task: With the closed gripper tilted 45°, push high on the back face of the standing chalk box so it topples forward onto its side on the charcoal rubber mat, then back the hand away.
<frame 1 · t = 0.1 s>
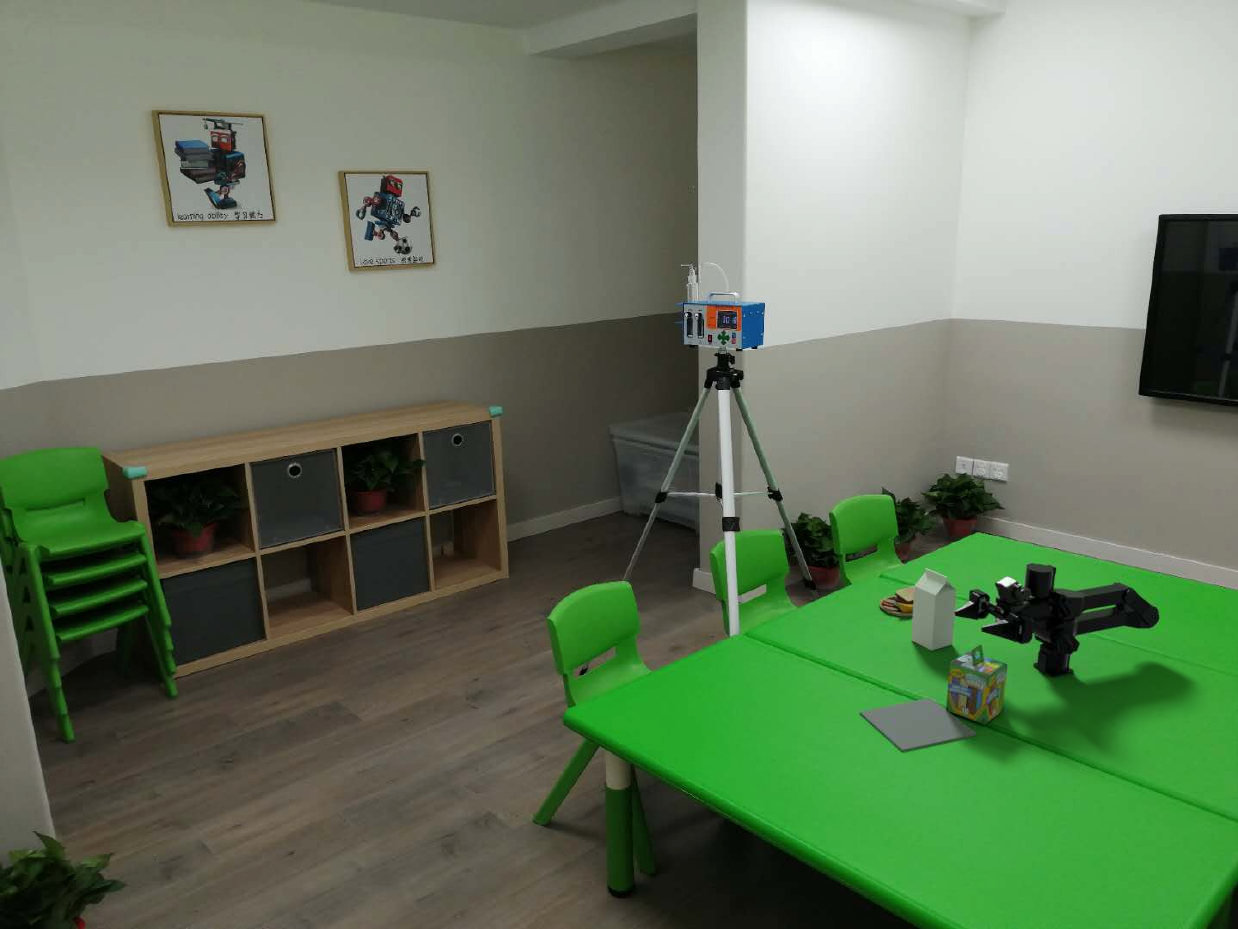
hand: (968, 621, 211), 17 cm above the table, tool horizontal, fingers open, 9 cm apart
chalk box: (974, 712, 205), on the table, touching topple mat
milk carton: (931, 643, 238), on the table
topple mat: (916, 724, 201), on the table
toy sandwich meal: (903, 609, 259), on the table
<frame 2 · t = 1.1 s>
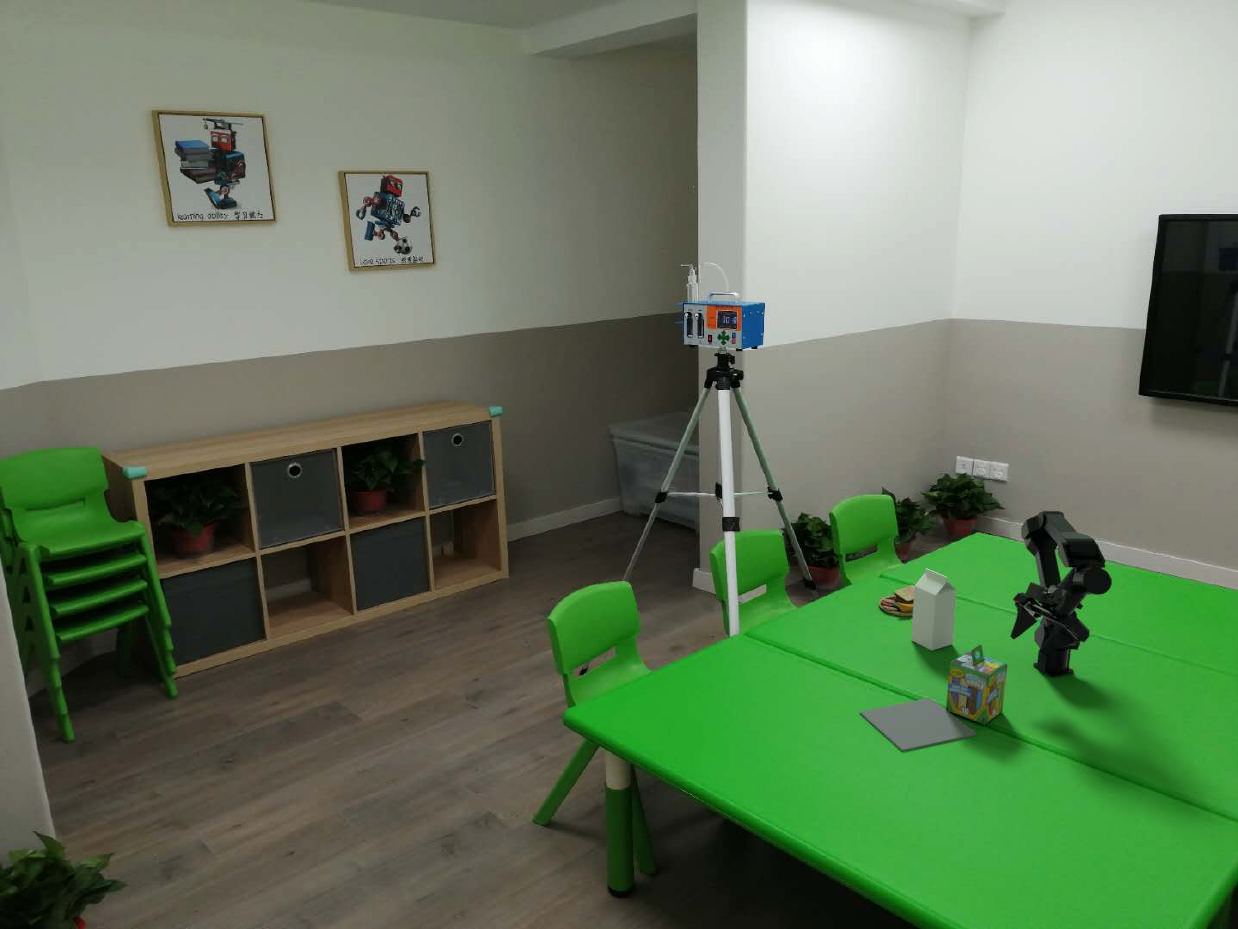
hand: (1025, 645, 206), 13 cm above the table, tool tilted 45°, fingers open, 9 cm apart
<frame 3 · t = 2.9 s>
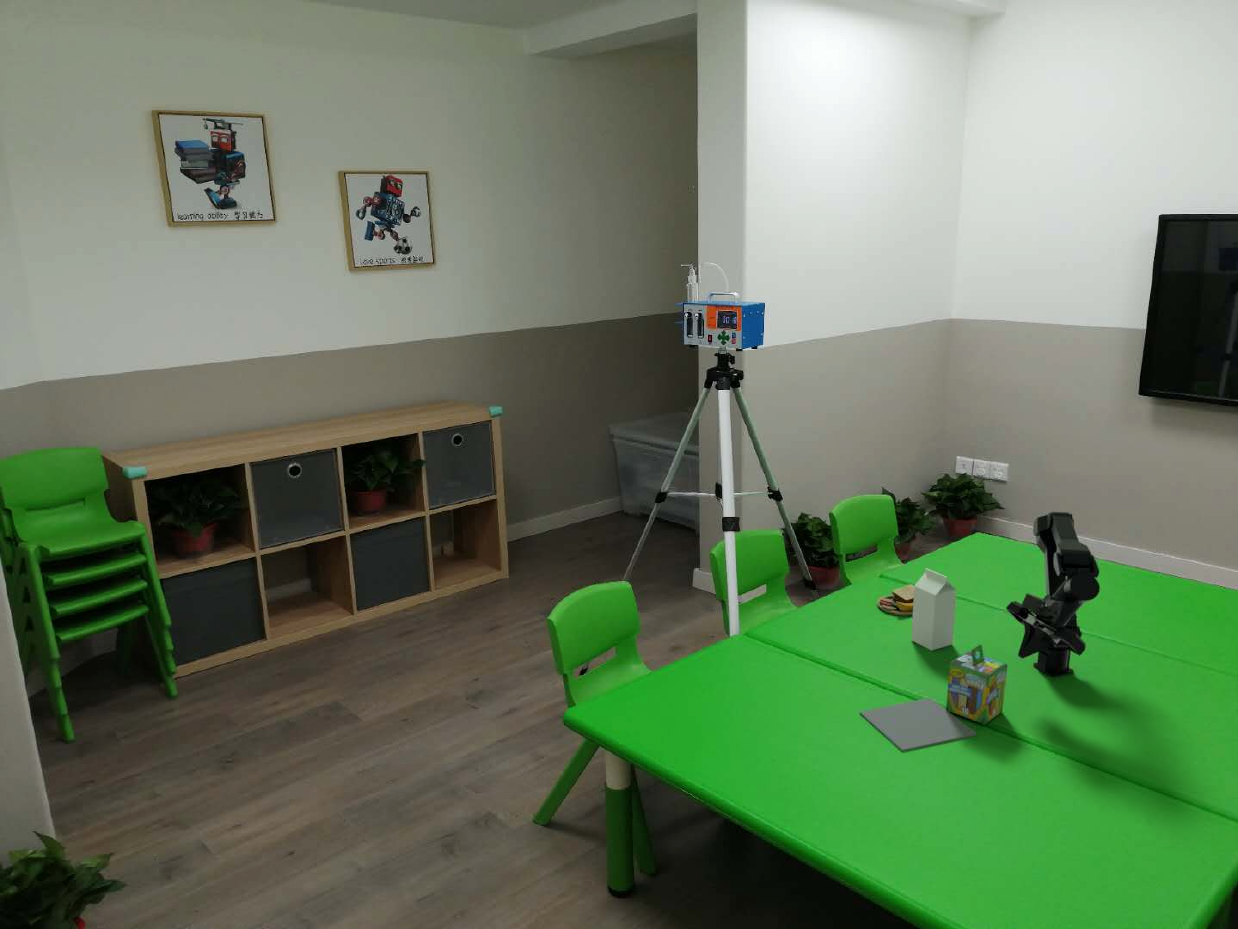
hand: (1020, 657, 205), 12 cm above the table, tool tilted 45°, fingers closed
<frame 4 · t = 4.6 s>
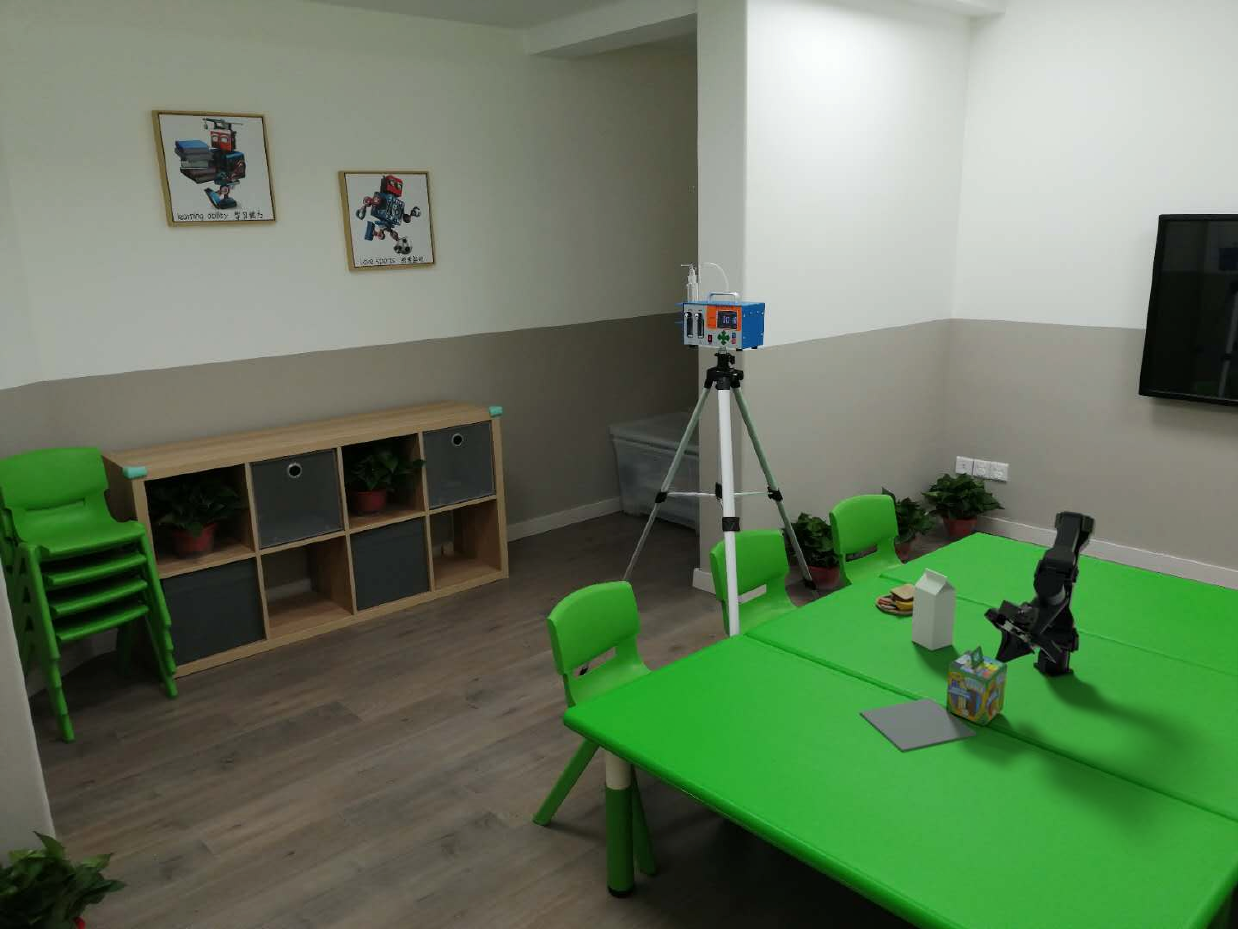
hand: (996, 663, 203), 11 cm above the table, tool tilted 45°, fingers closed
chalk box: (974, 710, 205), on the table, touching gripper, topple mat
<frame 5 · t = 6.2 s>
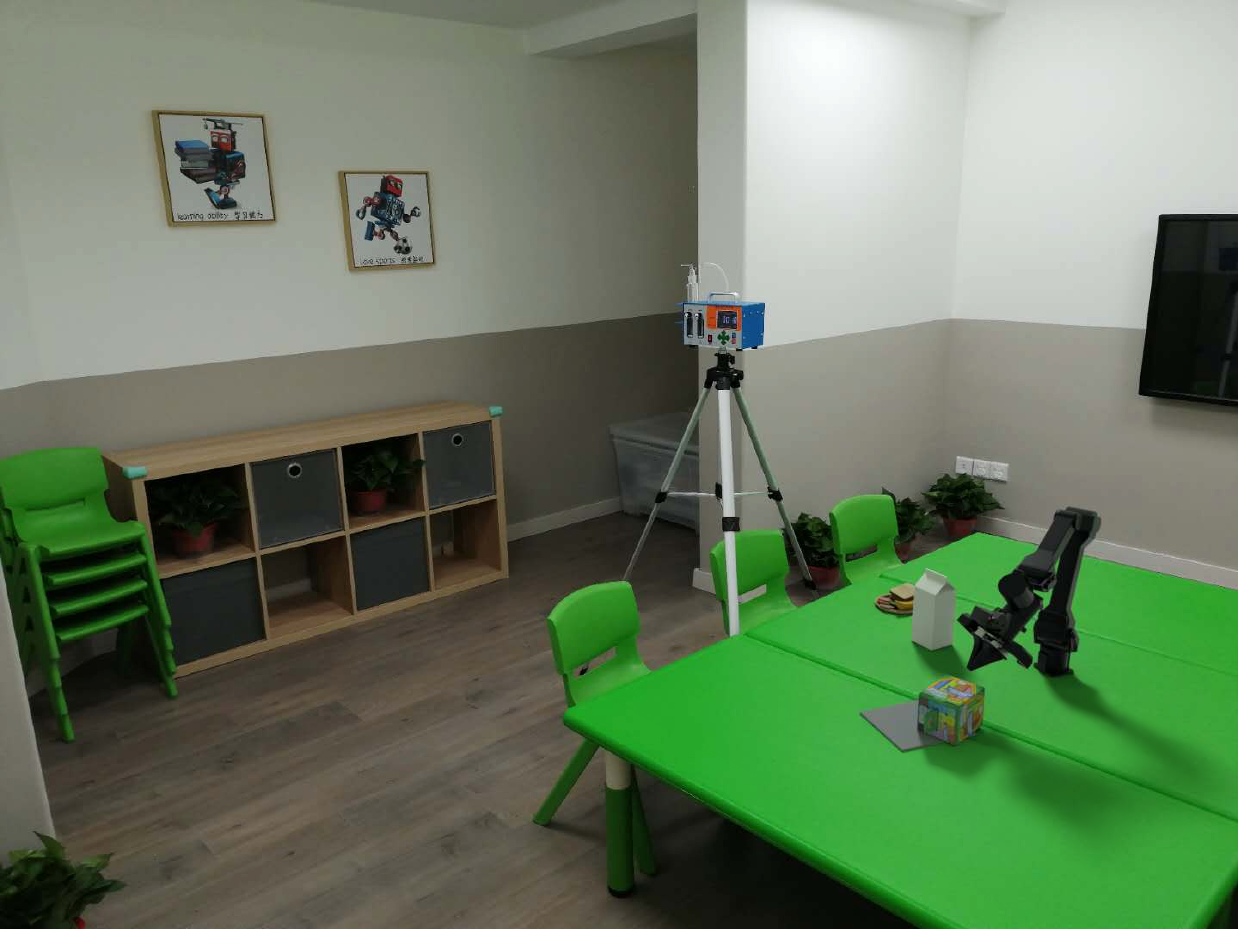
hand: (968, 669, 201), 11 cm above the table, tool tilted 45°, fingers closed
chalk box: (964, 698, 201), point 5 cm above the table, touching topple mat
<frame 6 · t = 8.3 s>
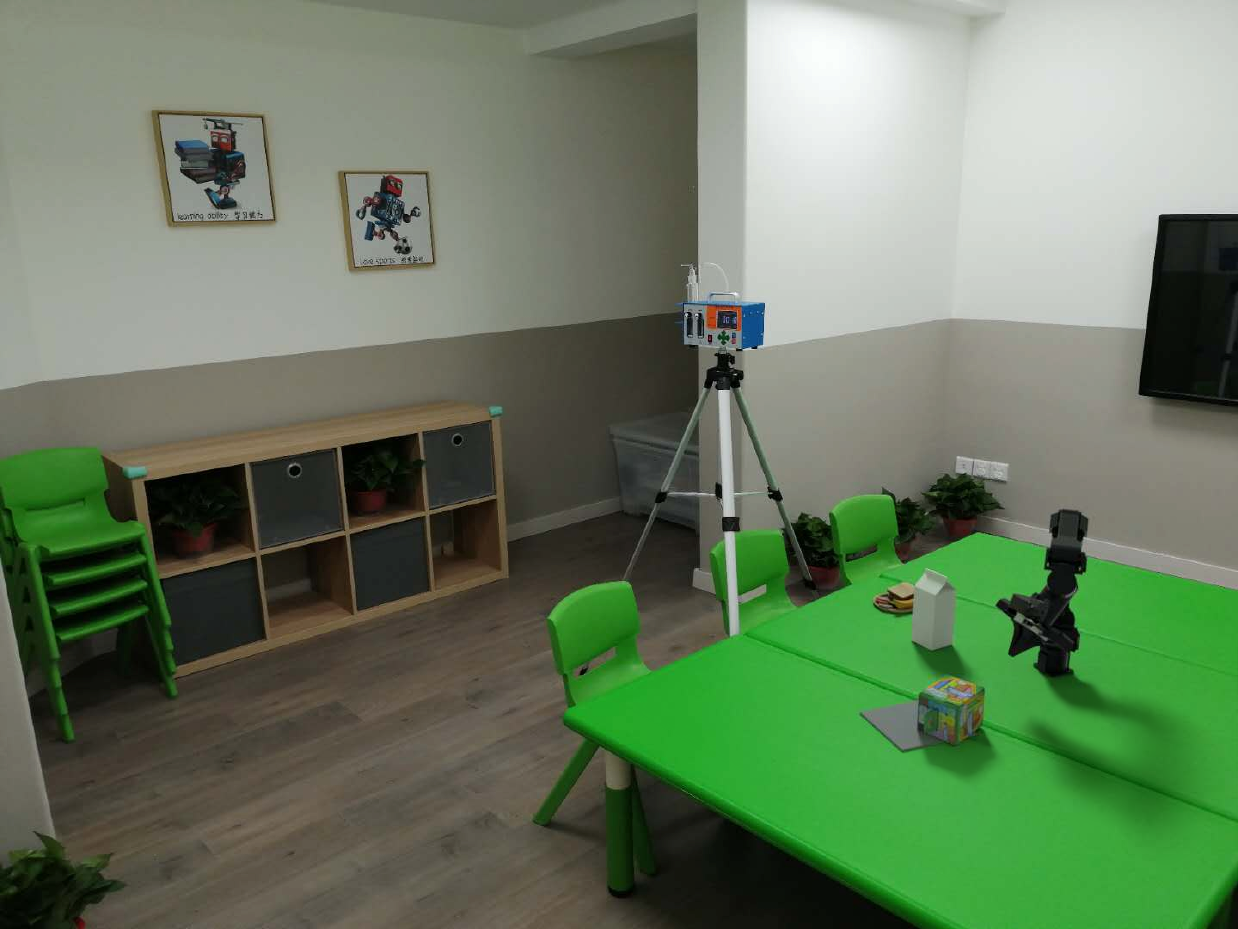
hand: (1010, 655, 205), 11 cm above the table, tool tilted 40°, fingers closed
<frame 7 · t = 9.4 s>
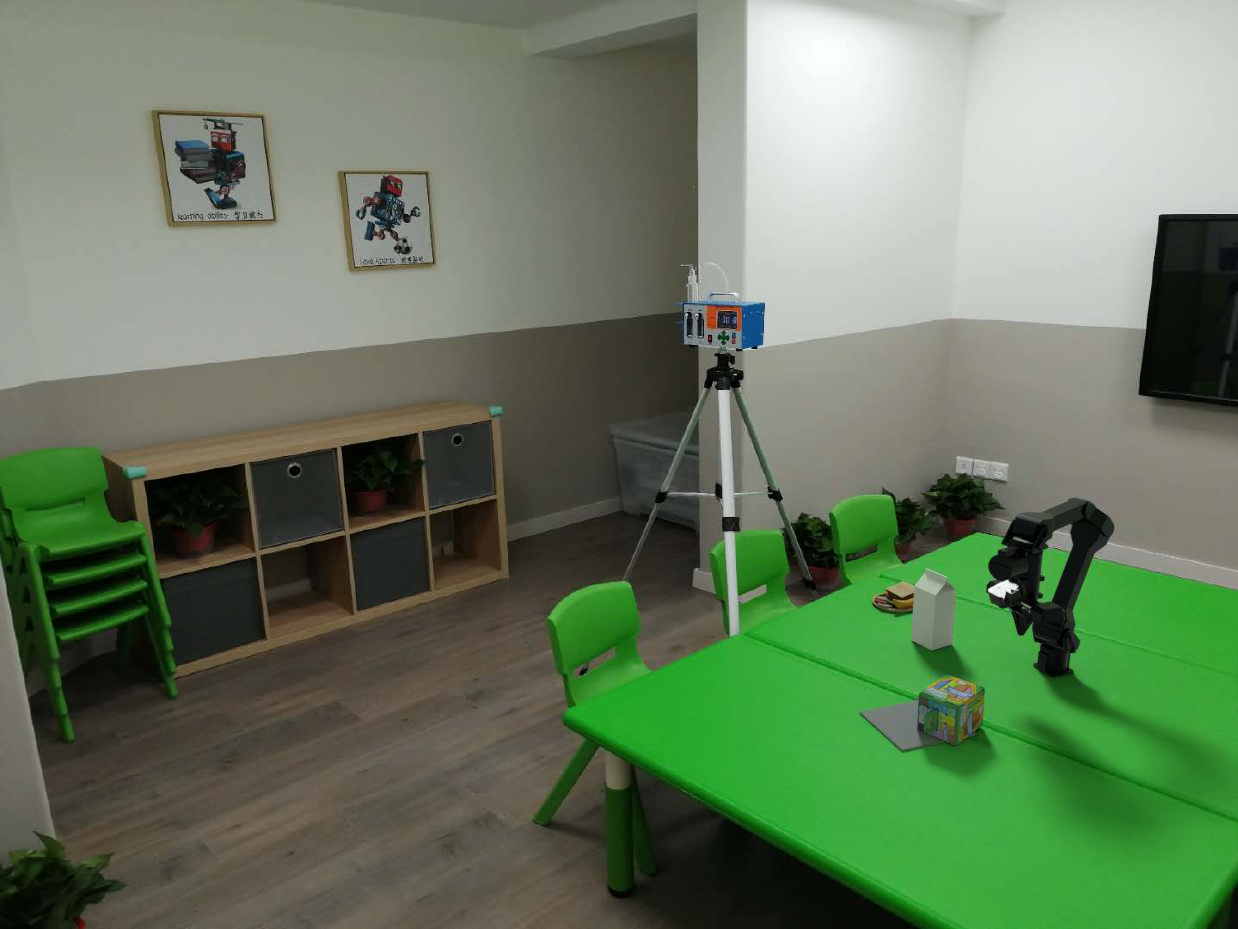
hand: (1020, 635, 212), 13 cm above the table, tool pointing down, fingers closed
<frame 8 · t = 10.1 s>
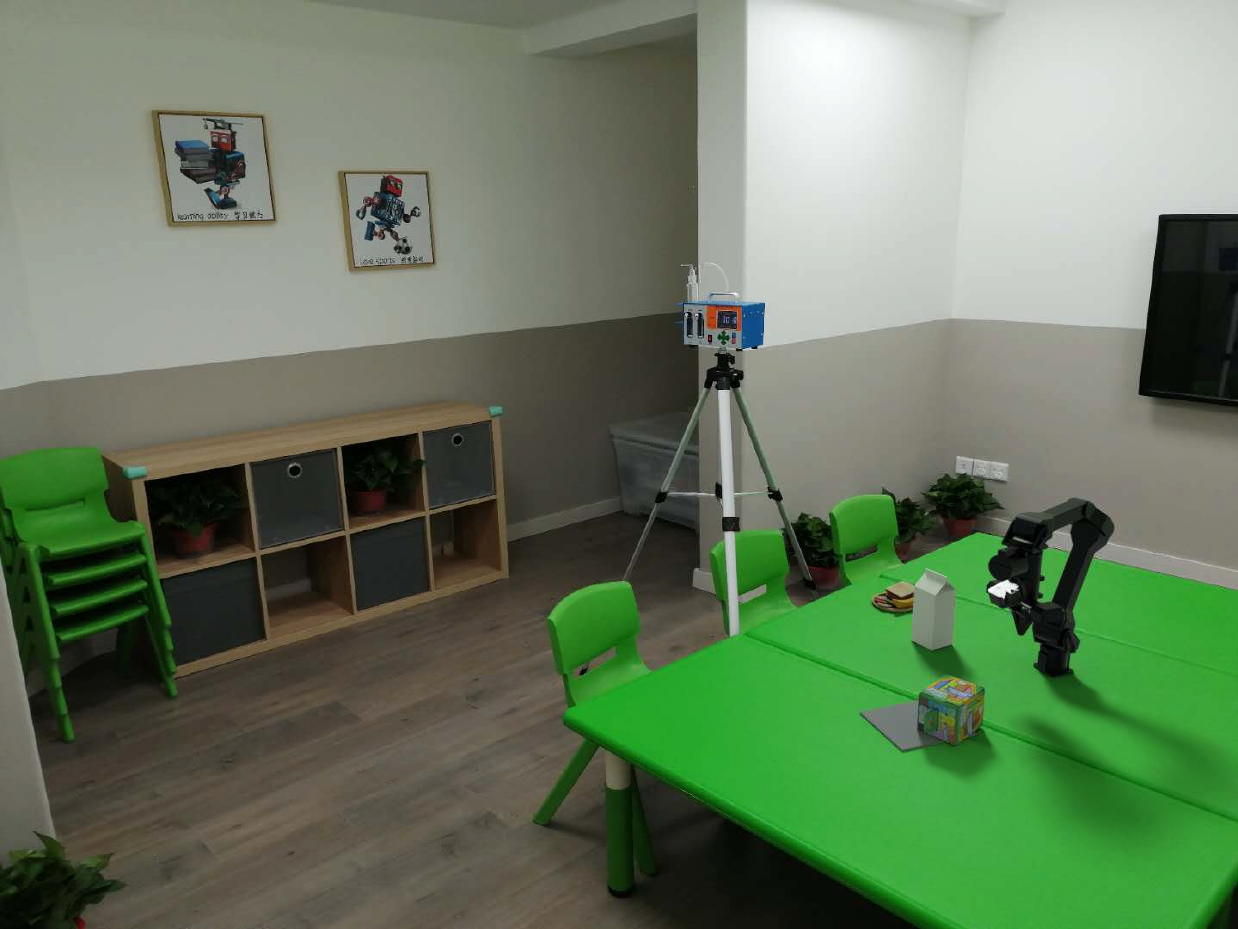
hand: (1020, 635, 212), 13 cm above the table, tool pointing down, fingers closed
at the end: chalk box tilted 91°; chalk box touching topple mat; chalk box inside the target area (3.8 cm from its centre), point 5.0 cm above the table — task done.
